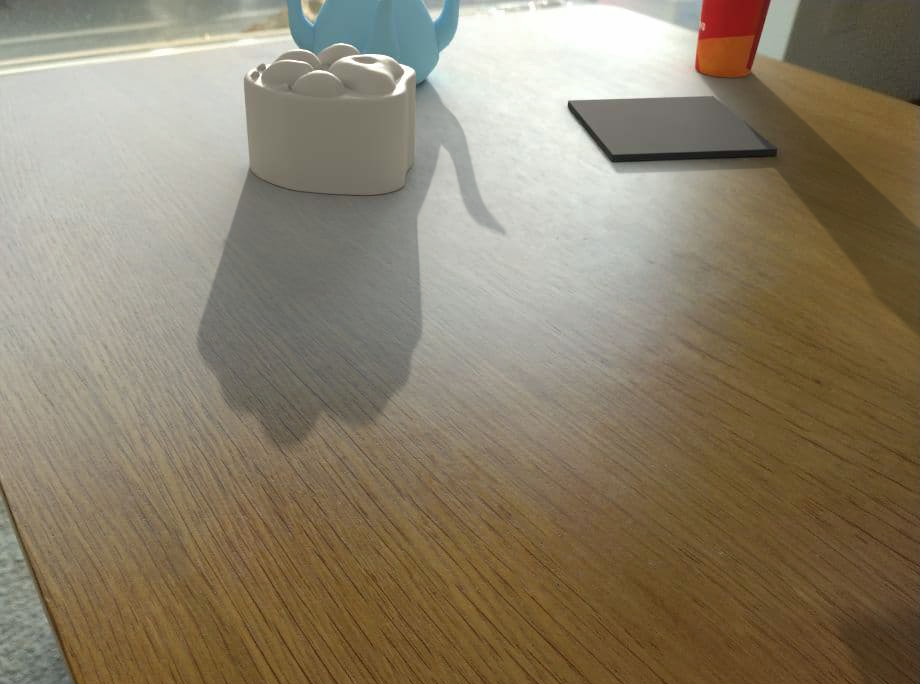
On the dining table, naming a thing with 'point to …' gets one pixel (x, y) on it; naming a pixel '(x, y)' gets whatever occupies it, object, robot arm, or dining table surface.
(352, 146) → the lumpy-topped squat cylinder
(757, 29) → the paper cup
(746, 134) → the mat
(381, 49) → the teapot
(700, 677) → the dining table surface
